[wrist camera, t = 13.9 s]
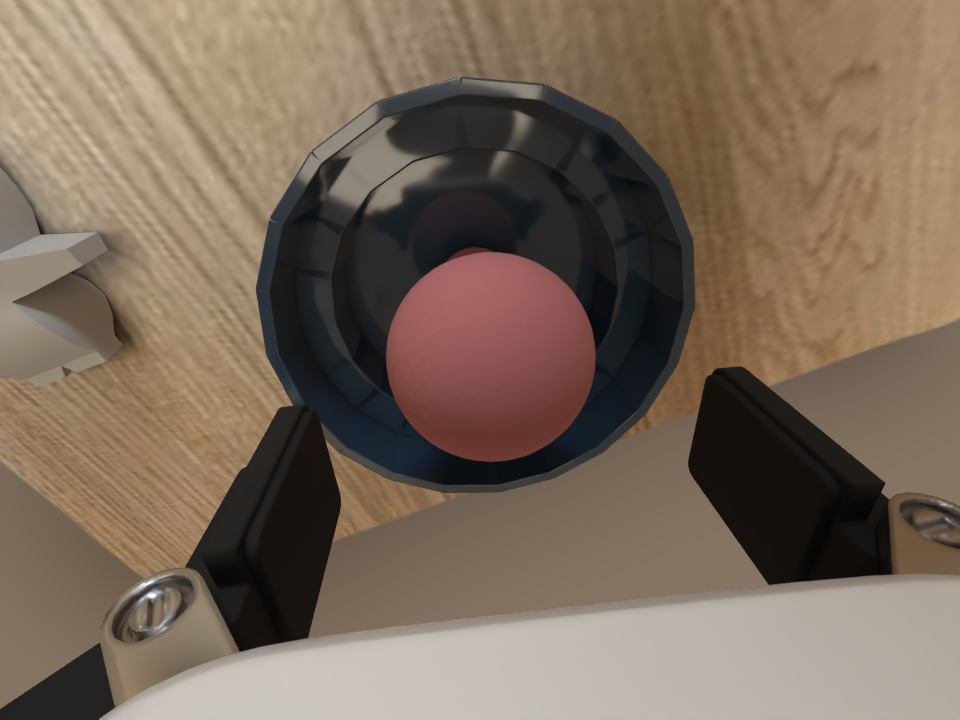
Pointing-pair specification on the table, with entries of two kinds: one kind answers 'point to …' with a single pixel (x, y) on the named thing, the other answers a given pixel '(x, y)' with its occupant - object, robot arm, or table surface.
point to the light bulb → (490, 356)
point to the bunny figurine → (48, 298)
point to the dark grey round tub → (463, 224)
